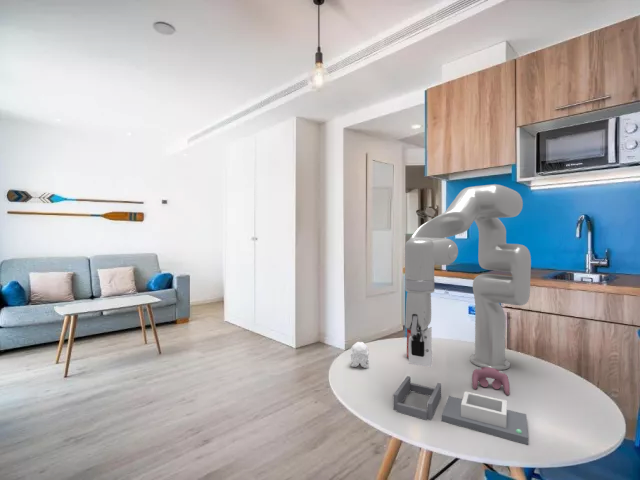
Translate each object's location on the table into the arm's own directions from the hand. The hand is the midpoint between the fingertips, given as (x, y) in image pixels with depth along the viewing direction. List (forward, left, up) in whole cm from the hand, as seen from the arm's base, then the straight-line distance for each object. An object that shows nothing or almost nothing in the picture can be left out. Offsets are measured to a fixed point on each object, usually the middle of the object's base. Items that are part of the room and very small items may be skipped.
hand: (420, 351), depth 90 cm
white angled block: (0, 0, -3) cm, 3 cm away
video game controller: (-19, +16, -14) cm, 29 cm away
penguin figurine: (-17, -25, -14) cm, 33 cm away
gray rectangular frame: (+1, 0, -14) cm, 14 cm away
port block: (+1, +16, -14) cm, 21 cm away
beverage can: (-31, -9, -14) cm, 36 cm away
